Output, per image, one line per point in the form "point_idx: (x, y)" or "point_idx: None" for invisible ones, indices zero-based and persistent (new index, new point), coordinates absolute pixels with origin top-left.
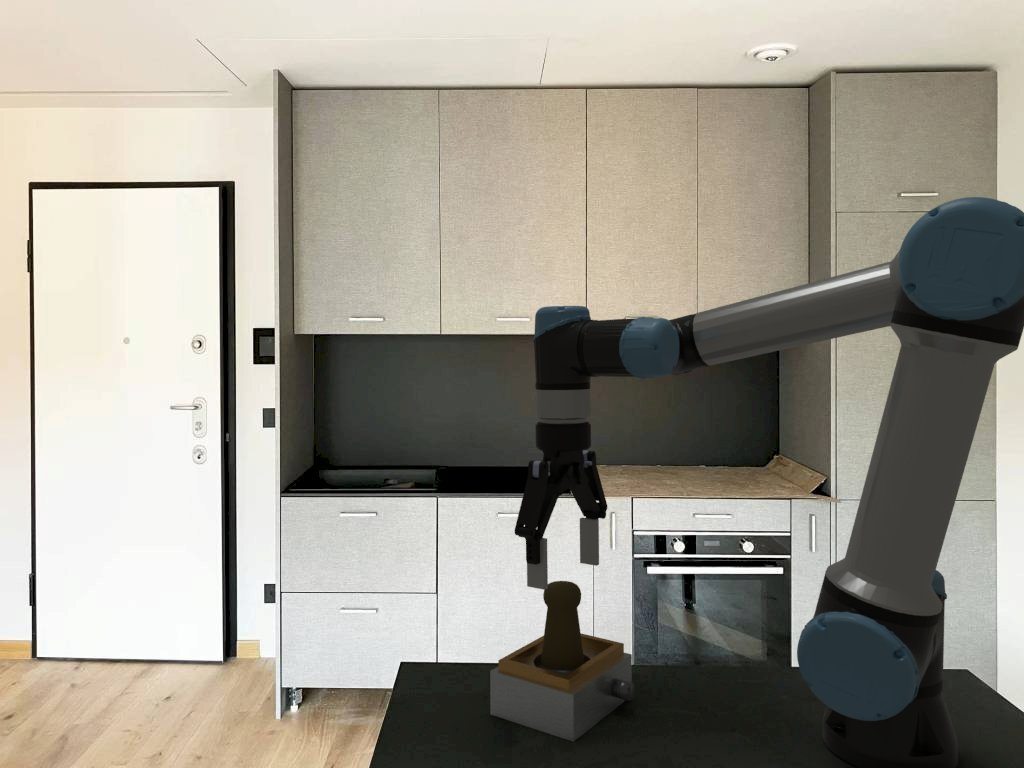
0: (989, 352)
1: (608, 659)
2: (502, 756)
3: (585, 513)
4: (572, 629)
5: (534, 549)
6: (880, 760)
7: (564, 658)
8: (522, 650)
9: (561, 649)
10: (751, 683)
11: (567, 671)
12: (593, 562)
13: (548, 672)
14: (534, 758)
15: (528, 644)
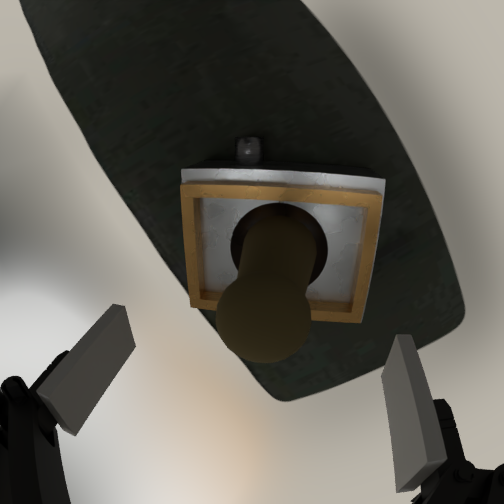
0: None
1: (239, 183)
2: (434, 228)
3: (51, 433)
4: (286, 253)
5: (457, 439)
6: None
7: (308, 240)
8: None
9: (309, 252)
10: (92, 64)
11: (311, 226)
12: (122, 318)
13: (370, 238)
14: (424, 194)
15: None
